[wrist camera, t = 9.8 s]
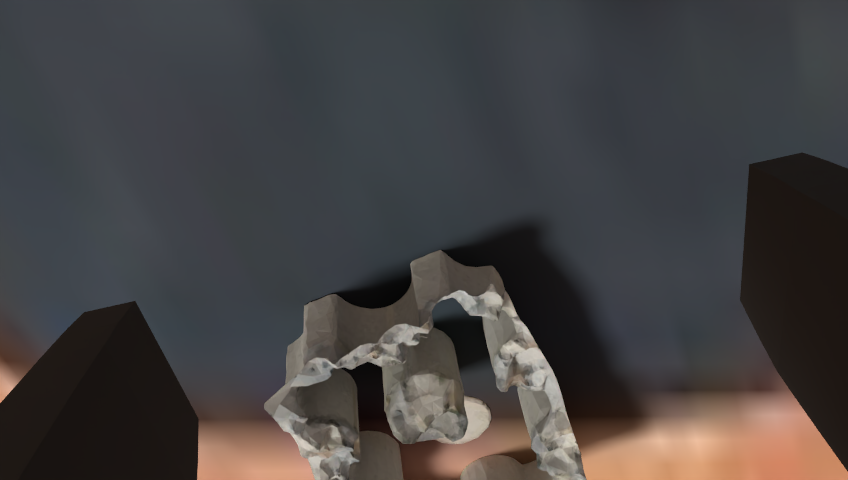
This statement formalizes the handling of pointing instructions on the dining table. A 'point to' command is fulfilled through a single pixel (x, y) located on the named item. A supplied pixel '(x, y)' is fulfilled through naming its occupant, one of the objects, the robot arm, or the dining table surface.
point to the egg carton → (419, 381)
